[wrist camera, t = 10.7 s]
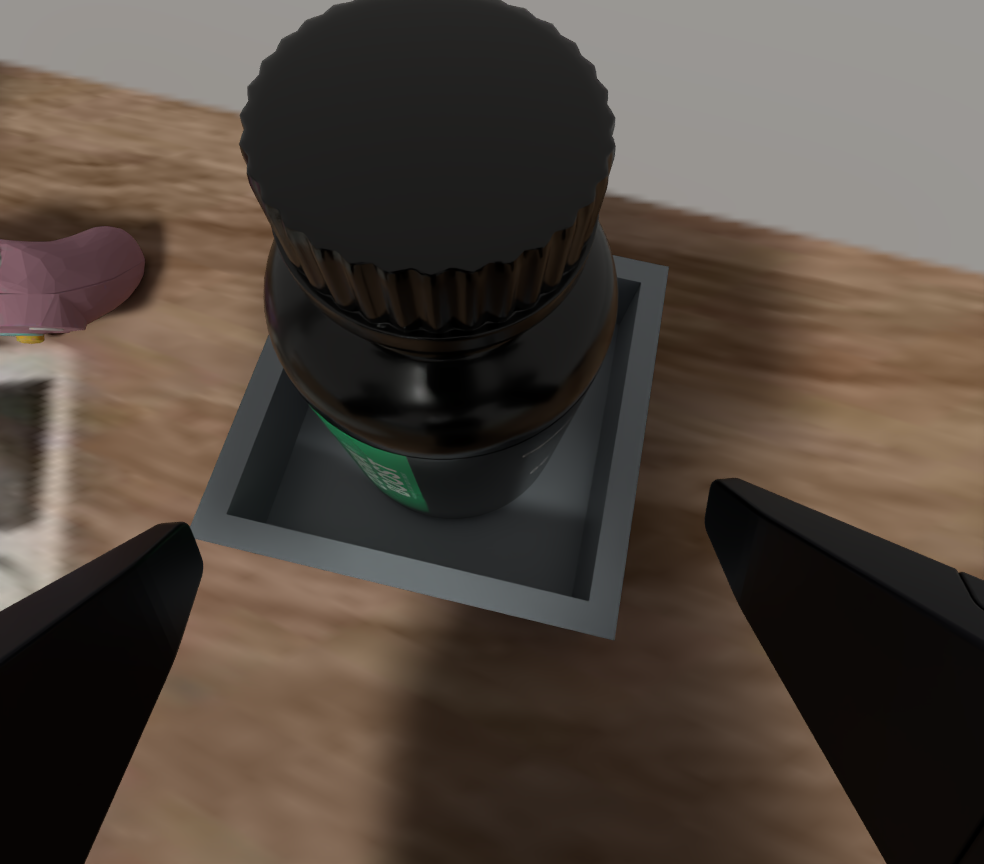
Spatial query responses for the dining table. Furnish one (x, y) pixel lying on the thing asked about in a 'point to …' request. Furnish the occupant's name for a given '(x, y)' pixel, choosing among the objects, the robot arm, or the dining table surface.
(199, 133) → the dining table surface
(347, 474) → the tray
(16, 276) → the video game controller
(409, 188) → the supplement bottle
